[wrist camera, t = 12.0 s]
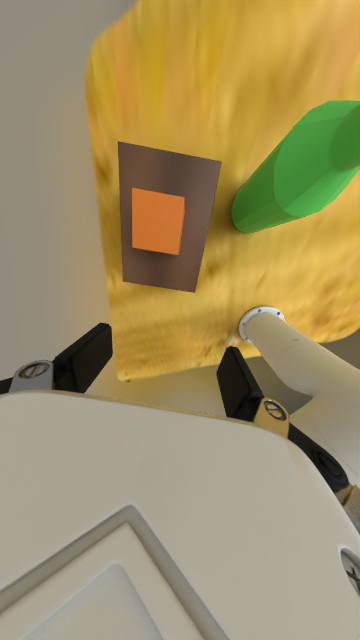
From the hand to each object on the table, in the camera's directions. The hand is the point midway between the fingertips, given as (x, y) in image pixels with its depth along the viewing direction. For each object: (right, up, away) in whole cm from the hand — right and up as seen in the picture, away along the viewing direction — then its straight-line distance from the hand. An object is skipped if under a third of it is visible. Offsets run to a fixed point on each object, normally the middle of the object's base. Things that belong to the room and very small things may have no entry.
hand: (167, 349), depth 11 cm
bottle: (+16, +26, +18) cm, 35 cm away
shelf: (-1, +21, +20) cm, 30 cm away
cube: (-1, +15, +9) cm, 18 cm away
